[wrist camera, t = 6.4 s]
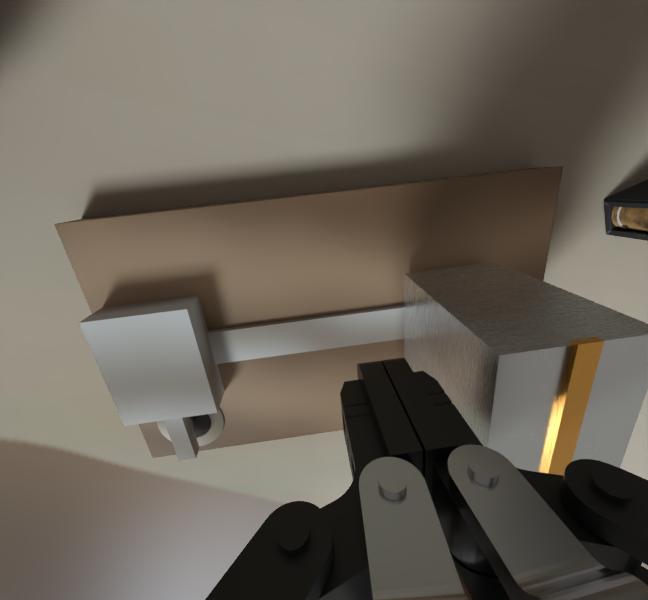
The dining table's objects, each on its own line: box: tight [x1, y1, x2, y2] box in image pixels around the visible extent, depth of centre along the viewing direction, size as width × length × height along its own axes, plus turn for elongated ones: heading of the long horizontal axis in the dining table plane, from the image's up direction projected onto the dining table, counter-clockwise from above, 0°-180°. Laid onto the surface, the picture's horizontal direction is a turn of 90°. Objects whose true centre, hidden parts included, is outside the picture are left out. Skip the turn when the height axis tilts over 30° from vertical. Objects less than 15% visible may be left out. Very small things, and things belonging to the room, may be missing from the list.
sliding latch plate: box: [55, 167, 563, 460], centre depth 14 cm, size 12×20×3 cm, turn 96°
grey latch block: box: [404, 262, 648, 476], centre depth 11 cm, size 8×4×7 cm, turn 6°
